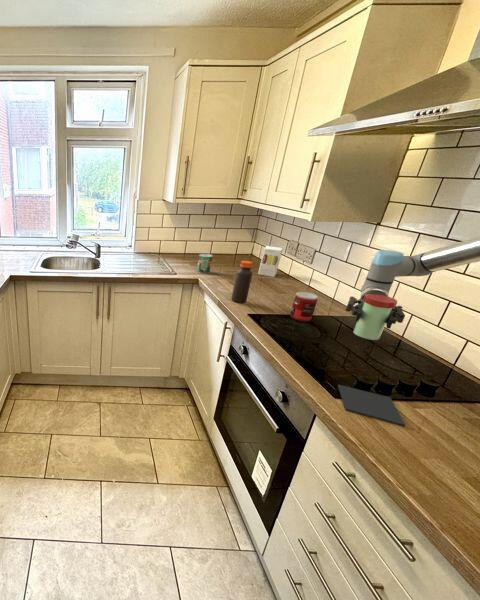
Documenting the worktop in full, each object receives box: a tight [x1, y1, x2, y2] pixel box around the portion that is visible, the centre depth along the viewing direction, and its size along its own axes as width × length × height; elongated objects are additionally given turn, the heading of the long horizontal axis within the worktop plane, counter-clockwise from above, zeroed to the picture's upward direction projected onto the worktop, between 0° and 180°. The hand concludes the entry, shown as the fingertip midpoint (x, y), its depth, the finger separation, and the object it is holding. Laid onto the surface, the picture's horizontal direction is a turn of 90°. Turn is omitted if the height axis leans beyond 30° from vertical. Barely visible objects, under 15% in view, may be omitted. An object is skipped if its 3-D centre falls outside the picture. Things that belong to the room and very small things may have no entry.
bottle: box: [231, 260, 254, 304], centre depth 153 cm, size 7×7×20 cm
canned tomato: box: [196, 253, 213, 275], centre depth 200 cm, size 8×8×11 cm
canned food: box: [289, 291, 319, 323], centre depth 137 cm, size 8×8×11 cm
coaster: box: [337, 384, 406, 427], centre depth 87 cm, size 12×12×1 cm
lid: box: [363, 294, 398, 308], centre depth 98 cm, size 8×8×2 cm
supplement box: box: [257, 245, 284, 278], centre depth 195 cm, size 10×9×17 cm
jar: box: [352, 302, 392, 341], centre depth 100 cm, size 7×7×12 cm
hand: (373, 320), depth 96 cm, fingers closed on jar, 7 cm apart
